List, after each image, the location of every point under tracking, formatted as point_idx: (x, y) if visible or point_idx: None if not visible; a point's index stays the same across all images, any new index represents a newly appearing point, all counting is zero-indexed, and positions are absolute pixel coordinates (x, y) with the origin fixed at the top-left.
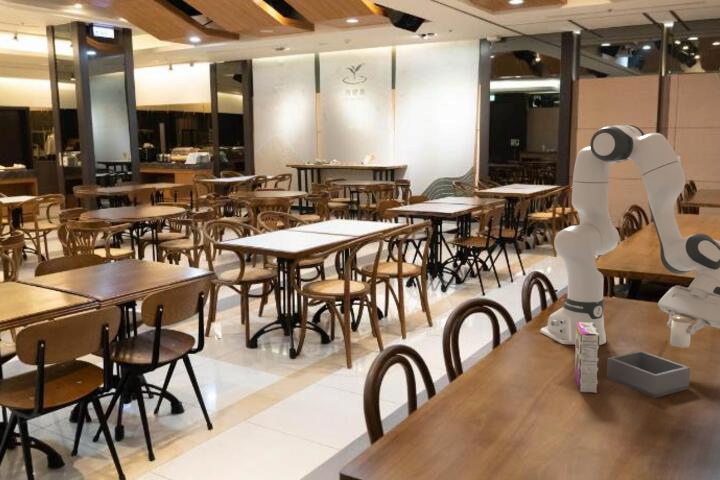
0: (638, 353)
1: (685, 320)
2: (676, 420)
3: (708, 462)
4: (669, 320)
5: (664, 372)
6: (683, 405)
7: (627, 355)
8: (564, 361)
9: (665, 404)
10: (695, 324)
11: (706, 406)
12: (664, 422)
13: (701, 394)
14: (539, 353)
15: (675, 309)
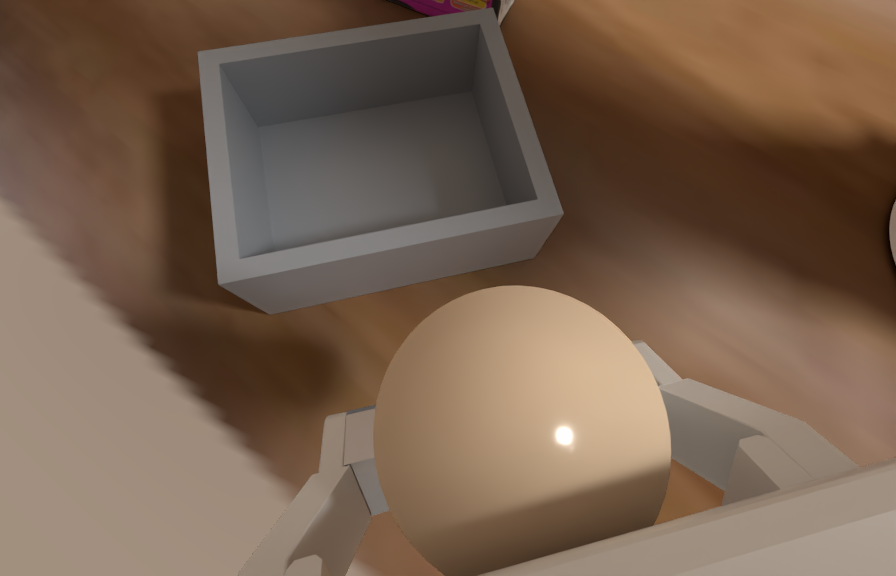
0: (530, 183)
1: (385, 383)
2: (61, 77)
3: None
4: (664, 370)
5: (218, 114)
6: (145, 179)
7: (507, 108)
8: (690, 48)
9: (183, 127)
10: (311, 508)
11: (93, 253)
12: (71, 37)
13: (198, 324)
14: (792, 14)
15: (818, 492)
